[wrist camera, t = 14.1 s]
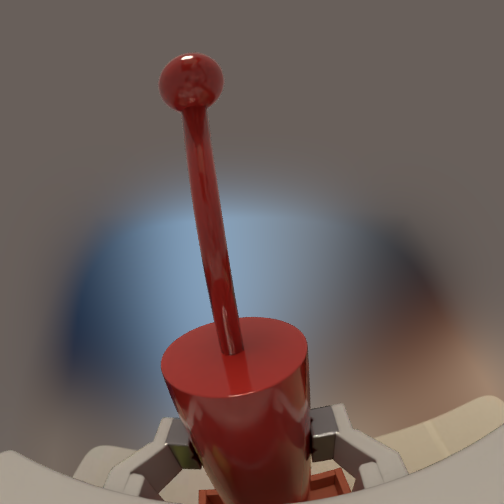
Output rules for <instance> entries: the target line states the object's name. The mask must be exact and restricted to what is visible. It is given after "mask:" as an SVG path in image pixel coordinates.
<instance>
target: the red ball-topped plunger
mask: <svg viewBox="0 0 504 504" xmlns="http://www.w3.org/2000/svg"><path fill="white" fill-rule="evenodd" d="M224 84H225V79H224V73H223V71H222V68H221V67H220V65H219V64H218V63H217V62H216V61H215V60H214V59H213V58H211V57H209V56H207V55H205V54H201V53H186V54H182V55H179V56H177V57H175V58H174V59H172V60H171V61H170V62H168V63H167V64H166V66H165V67H164V68H163V70H162V72H161V74H160V76H159V80H158V91H159V95H160V97H161V99H162V100H163V102H164V103H165V104H166V105H167V106H168V107H169V108H170V109H172V110H174V111H176V112H178V113H181V117H182V127H183V135H184V144H185V152H186V159H187V167H188V174H189V181H190V189H191V195H192V202H193V209H194V215H195V221H196V227H197V233H198V239H199V245H200V250H201V257H202V262H203V267H204V273H205V278H206V283H207V288H208V293H209V299H210V303H211V308H212V313H213V318H214V322H213V323H210V324H206V325H204V326H201V327H198V328H196V329H193V330H191V331H189V332H188V333H186V334H184V335H183V336H181V337H179V338H178V339H176V340H175V341H174V342H173V343H172V344H171V345H170V346H169V347H168V348H167V349H166V351H165V353H164V354H163V357H162V360H161V371H162V374H163V377H164V380H165V382H166V385H167V388H168V390H169V393H170V395H171V398H172V400H173V403H174V405H175V408H176V410H177V412H178V415H179V417H180V419H181V422H182V424H183V426H184V429H185V431H186V433H187V435H188V437H189V439H190V442H191V444H192V446H193V448H194V450H195V452H196V454H197V456H198V458H199V460H200V462H201V464H202V466H203V468H204V470H205V472H206V473H207V475H208V477H209V479H210V481H211V483H212V484H213V486H214V488H215V490H216V492H217V493H218V495H219V497H220V498H221V500H222V502H223V503H224V504H289V503H298V502H305V501H310V491H311V414H310V384H309V361H308V345H307V341H306V338H305V336H304V335H303V334H302V332H301V331H300V330H299V329H297V328H296V327H294V326H293V325H291V324H289V323H286V322H283V321H280V320H276V319H271V318H261V317H243V318H239V316H238V310H237V305H236V299H235V293H234V287H233V281H232V275H231V269H230V263H229V256H228V250H227V244H226V237H225V231H224V224H223V218H222V211H221V204H220V199H219V192H218V184H217V178H216V170H215V162H214V155H213V148H212V140H211V133H210V125H209V117H208V109H209V108H210V107H212V106H213V105H214V104H215V103H216V102H217V101H218V99H219V98H220V96H221V95H222V92H223V89H224Z"/></svg>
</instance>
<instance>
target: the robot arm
mask: <svg viewBox="0 0 504 504" xmlns="http://www.w3.org/2000/svg"><path fill="white" fill-rule="evenodd" d="M310 414H311V457H312V462H319V461H325V460H331V459H333V460H334V461H335V462H336V463H337V464H339V465H340V466H341V467H342V468H343V469H345V470H346V471H347V472H348V473H349V474H351V475H352V476H353V477H354V478H356V480H355V483H354V487H353V490H352V492H351V493H347V494H343V495H338V496H333V497H328V498H323V499H318V500H312V501H305V502H298V503H289V504H504V424H502V425H501V426H499V427H498V428H496V429H495V430H493V431H492V432H490V433H489V434H487V435H486V436H484V437H482V438H481V439H479V440H478V441H476V442H474V443H472V444H471V445H469V446H467V447H465V448H464V449H462V450H460V451H458V452H456V453H454V454H452V455H451V456H449V457H447V458H445V459H442V460H440V461H438V462H436V463H434V464H432V465H430V466H427V467H425V468H423V469H420V470H418V471H416V472H413V473H411V474H408V472H407V469H406V467H405V465H404V463H403V461H402V458H401V456H400V454H399V452H397V451H395V450H393V449H391V448H389V447H388V446H386V445H384V444H382V443H380V442H379V441H377V440H375V439H373V438H371V437H370V436H368V435H366V434H365V433H363V432H361V431H360V430H358V429H354V430H353V427H352V425H351V422H350V419H349V417H348V414H347V411H346V408H345V406H344V404H343V403H340V404H335V405H331V406H325V407H320V408H314V409H310ZM201 468H202V464H201V462H200V460H199V458H198V456H197V454H196V452H195V450H194V448H193V446H192V444H191V442H190V439H189V437H188V435H187V433H186V431H185V429H184V426H183V424H182V422H181V419H180V418H167V417H164V418H163V419H162V420H161V422H160V425H159V427H158V430H157V432H156V435H155V438H154V440H153V443H149V444H147V445H146V446H144V447H143V448H141V449H140V450H138V451H137V452H135V453H134V454H132V455H131V456H129V457H128V458H126V459H125V460H123V461H122V462H120V463H119V464H117V465H116V466H114V467H113V468H112V469H111V471H110V473H109V475H108V477H107V480H106V482H105V484H104V486H103V488H102V487H99V486H95V485H92V484H89V483H86V482H83V481H80V480H78V479H75V478H72V477H70V476H66V475H64V474H62V473H59V472H57V471H55V470H52V469H50V468H48V467H46V466H43V465H41V464H39V463H37V462H35V461H32V460H31V459H29V458H27V457H25V456H23V455H21V454H19V453H18V452H15V451H12V450H9V451H5V452H1V453H0V504H181V503H173V502H166V501H164V500H163V499H162V498H161V496H160V495H159V494H158V493H159V492H160V491H161V490H162V489H163V488H164V487H165V486H166V485H167V484H168V483H169V482H170V481H171V480H172V479H173V478H174V477H175V476H176V475H177V474H178V473H179V472H180V471H181V470H182V469H201Z"/></svg>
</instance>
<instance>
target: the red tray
mask: <svg viewBox="0 0 504 504" xmlns="http://www.w3.org/2000/svg"><path fill="white" fill-rule="evenodd" d="M347 493H351V490H350V488H349V485H348V483H347V480H346V478H345V476H344V473H343V471H342V468H337V469H334V470H331V471H327V472H323V473H320V474H316V475H312V476H311V491H310V501H312V500H318V499H323V498H328V497H333V496H338V495H343V494H347ZM199 504H224V503H223V502H222V500H221V498H220V497H219V495H218V493H217V492H216V490H215V489H214V490H199Z"/></svg>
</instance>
